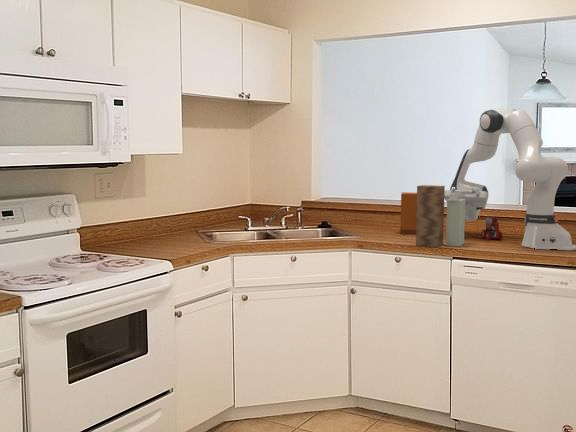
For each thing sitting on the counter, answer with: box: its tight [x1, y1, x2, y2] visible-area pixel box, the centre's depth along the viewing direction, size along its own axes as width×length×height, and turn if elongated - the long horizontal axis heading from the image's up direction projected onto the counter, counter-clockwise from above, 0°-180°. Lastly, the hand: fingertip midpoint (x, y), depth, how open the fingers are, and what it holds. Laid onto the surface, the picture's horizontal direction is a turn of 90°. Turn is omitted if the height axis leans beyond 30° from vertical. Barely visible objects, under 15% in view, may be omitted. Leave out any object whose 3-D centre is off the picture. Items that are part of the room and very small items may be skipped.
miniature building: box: [399, 192, 417, 236], centre depth 340 cm, size 10×9×20 cm
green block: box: [445, 199, 466, 247], centre depth 302 cm, size 6×10×20 cm, turn 155°
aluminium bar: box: [450, 191, 466, 201], centre depth 303 cm, size 3×20×3 cm, turn 155°
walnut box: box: [415, 184, 446, 248], centre depth 300 cm, size 10×9×26 cm
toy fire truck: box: [480, 215, 503, 241], centre depth 321 cm, size 7×12×10 cm, turn 6°
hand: (463, 189), depth 315 cm, fingers open, 8 cm apart
